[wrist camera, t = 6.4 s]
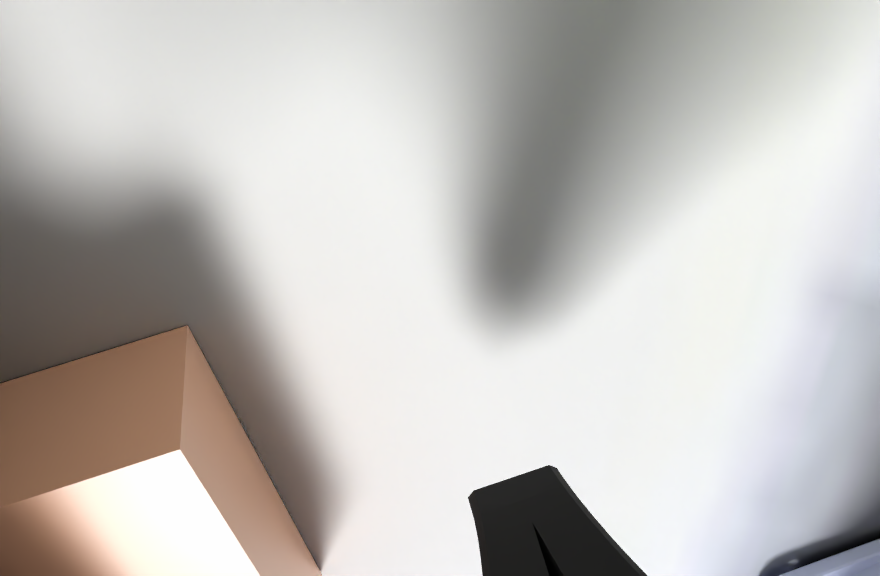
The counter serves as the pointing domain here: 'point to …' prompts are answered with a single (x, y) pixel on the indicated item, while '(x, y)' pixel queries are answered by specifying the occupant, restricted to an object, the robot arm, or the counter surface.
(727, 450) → the counter surface
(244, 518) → the peach rectangular block
